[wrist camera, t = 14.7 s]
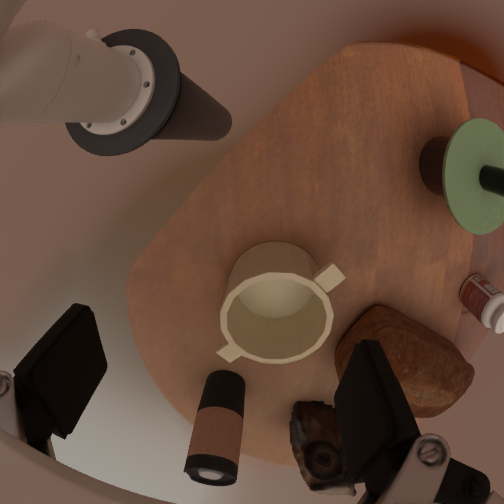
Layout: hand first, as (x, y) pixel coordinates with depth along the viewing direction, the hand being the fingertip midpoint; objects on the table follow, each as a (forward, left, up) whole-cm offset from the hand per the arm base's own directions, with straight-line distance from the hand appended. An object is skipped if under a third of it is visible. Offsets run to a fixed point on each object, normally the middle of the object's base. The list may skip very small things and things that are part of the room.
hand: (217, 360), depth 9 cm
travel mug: (+28, -18, -28) cm, 44 cm away
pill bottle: (+28, +30, -28) cm, 50 cm away
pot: (+12, -2, -28) cm, 31 cm away
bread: (+34, +14, -28) cm, 46 cm away
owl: (+45, -7, -28) cm, 54 cm away
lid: (+5, +27, -19) cm, 33 cm away
